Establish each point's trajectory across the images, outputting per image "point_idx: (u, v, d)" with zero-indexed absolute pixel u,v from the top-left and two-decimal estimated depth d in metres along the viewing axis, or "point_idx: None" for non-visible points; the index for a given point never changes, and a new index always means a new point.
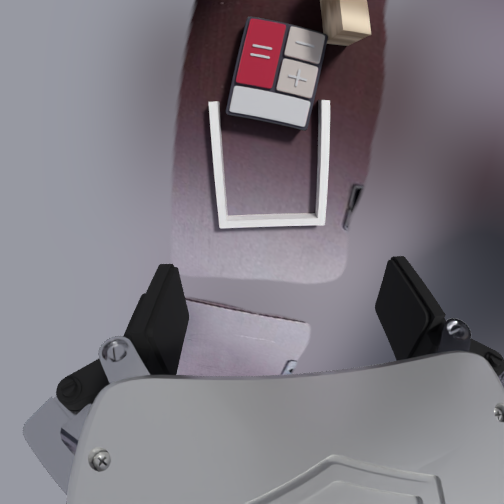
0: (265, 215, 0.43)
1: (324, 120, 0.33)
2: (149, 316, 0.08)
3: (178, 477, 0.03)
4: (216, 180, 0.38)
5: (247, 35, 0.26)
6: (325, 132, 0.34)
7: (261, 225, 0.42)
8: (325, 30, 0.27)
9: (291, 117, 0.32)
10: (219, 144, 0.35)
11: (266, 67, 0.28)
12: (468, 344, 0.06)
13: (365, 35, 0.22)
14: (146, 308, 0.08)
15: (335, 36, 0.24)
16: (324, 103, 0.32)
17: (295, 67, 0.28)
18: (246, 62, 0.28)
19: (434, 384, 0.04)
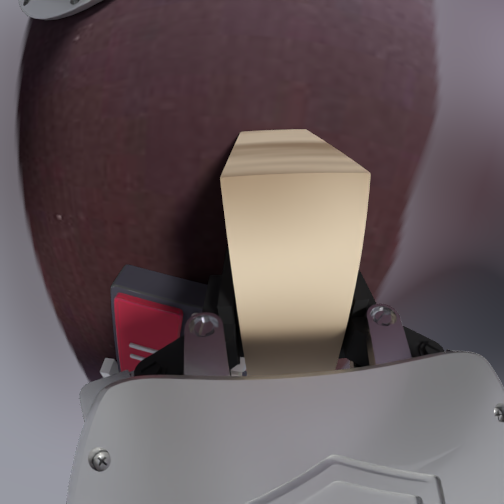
0: None
1: None
2: (234, 291, 0.09)
3: (178, 477, 0.03)
4: None
5: (117, 327, 0.17)
6: None
7: None
8: None
9: None
10: None
11: None
12: (399, 325, 0.08)
13: None
14: (228, 285, 0.09)
15: None
16: None
17: None
18: (128, 362, 0.19)
19: (434, 384, 0.04)
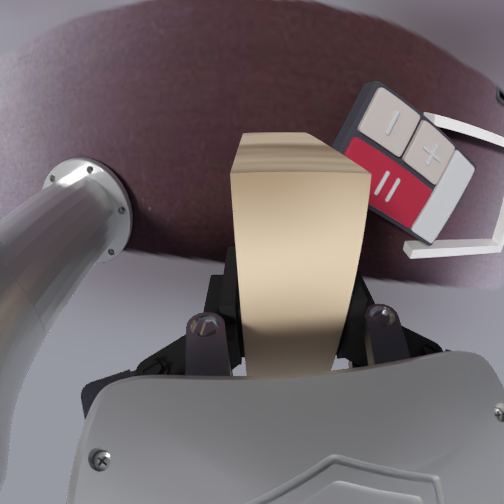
0: (503, 203, 0.25)
1: (454, 127, 0.19)
2: (235, 291, 0.09)
3: (178, 477, 0.03)
4: (472, 252, 0.27)
5: None
6: (465, 128, 0.19)
7: None
8: None
9: (463, 179, 0.21)
10: (449, 248, 0.27)
11: (408, 188, 0.22)
12: (398, 325, 0.08)
13: None
14: (229, 284, 0.09)
15: None
16: (437, 122, 0.19)
17: (419, 151, 0.20)
18: (393, 209, 0.23)
19: (434, 384, 0.04)
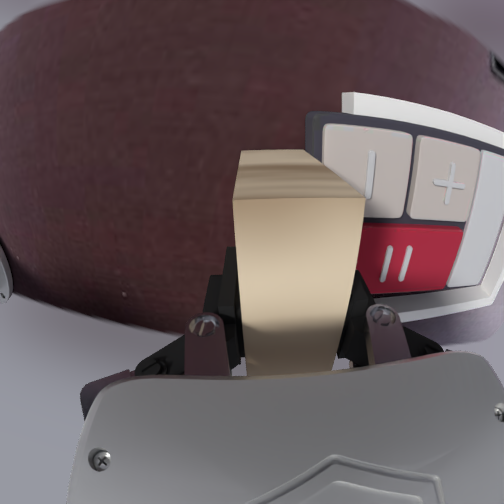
0: (502, 236, 0.17)
1: (402, 114, 0.11)
2: (234, 291, 0.09)
3: (178, 477, 0.03)
4: (444, 313, 0.19)
5: None
6: (427, 116, 0.11)
7: None
8: None
9: (502, 186, 0.11)
10: (400, 313, 0.19)
11: (428, 248, 0.14)
12: (399, 325, 0.08)
13: None
14: (228, 284, 0.09)
15: None
16: (362, 107, 0.12)
17: (429, 190, 0.12)
18: (414, 282, 0.15)
19: (434, 384, 0.04)
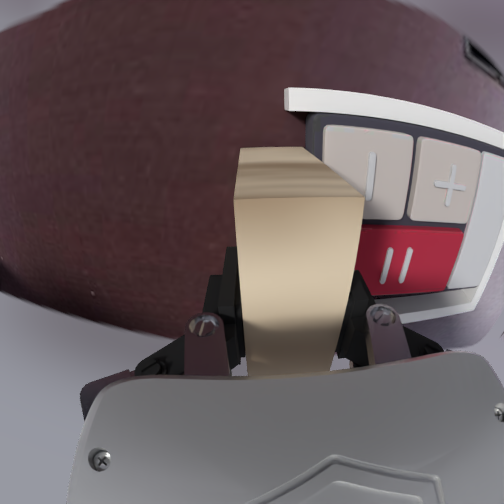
0: None
1: (347, 106, 0.11)
2: (234, 291, 0.09)
3: (178, 477, 0.03)
4: (416, 319, 0.19)
5: None
6: (378, 107, 0.11)
7: (498, 253, 0.16)
8: None
9: (503, 187, 0.11)
10: None
11: (429, 250, 0.14)
12: (399, 325, 0.08)
13: None
14: (228, 285, 0.09)
15: None
16: (298, 102, 0.12)
17: (430, 192, 0.12)
18: (414, 284, 0.15)
19: (434, 384, 0.04)
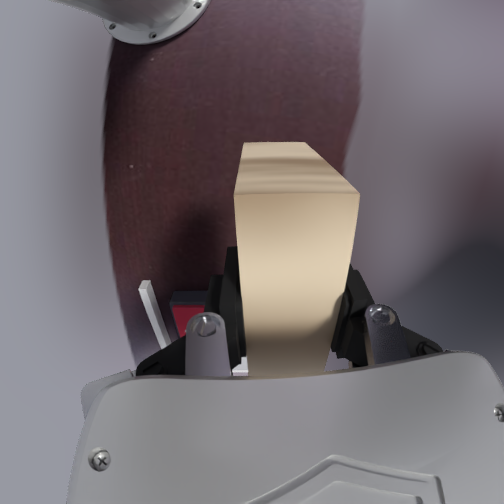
0: None
1: None
2: (235, 291, 0.09)
3: (178, 477, 0.03)
4: (160, 343, 0.41)
5: (177, 323, 0.36)
6: None
7: None
8: None
9: (237, 366, 0.41)
10: (156, 321, 0.38)
11: None
12: (398, 325, 0.08)
13: None
14: (229, 284, 0.09)
15: None
16: None
17: None
18: None
19: (434, 384, 0.04)
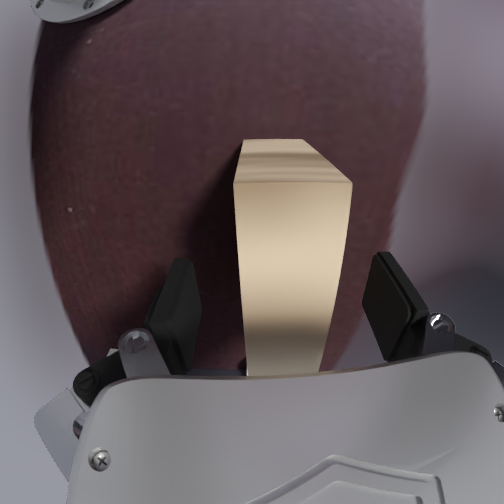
0: None
1: None
2: (169, 307, 0.08)
3: (178, 477, 0.03)
4: None
5: None
6: None
7: None
8: None
9: None
10: None
11: None
12: (453, 337, 0.07)
13: None
14: (165, 300, 0.09)
15: None
16: None
17: None
18: None
19: (434, 384, 0.04)
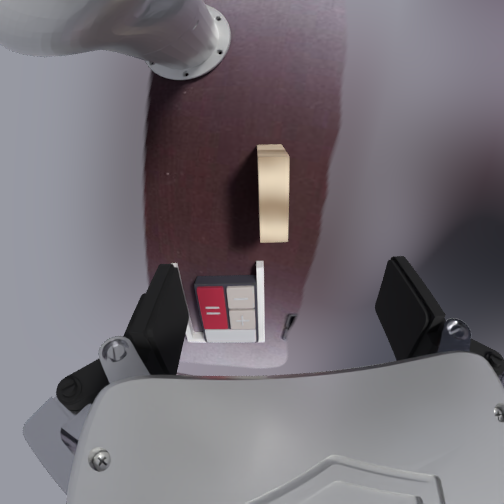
0: None
1: (259, 281, 0.47)
2: (149, 316, 0.08)
3: (178, 477, 0.03)
4: None
5: (199, 301, 0.48)
6: (260, 289, 0.48)
7: None
8: None
9: (246, 339, 0.53)
10: None
11: (219, 319, 0.50)
12: (468, 344, 0.06)
13: None
14: (146, 308, 0.08)
15: None
16: (258, 270, 0.46)
17: (238, 315, 0.49)
18: (206, 318, 0.50)
19: (434, 384, 0.04)
